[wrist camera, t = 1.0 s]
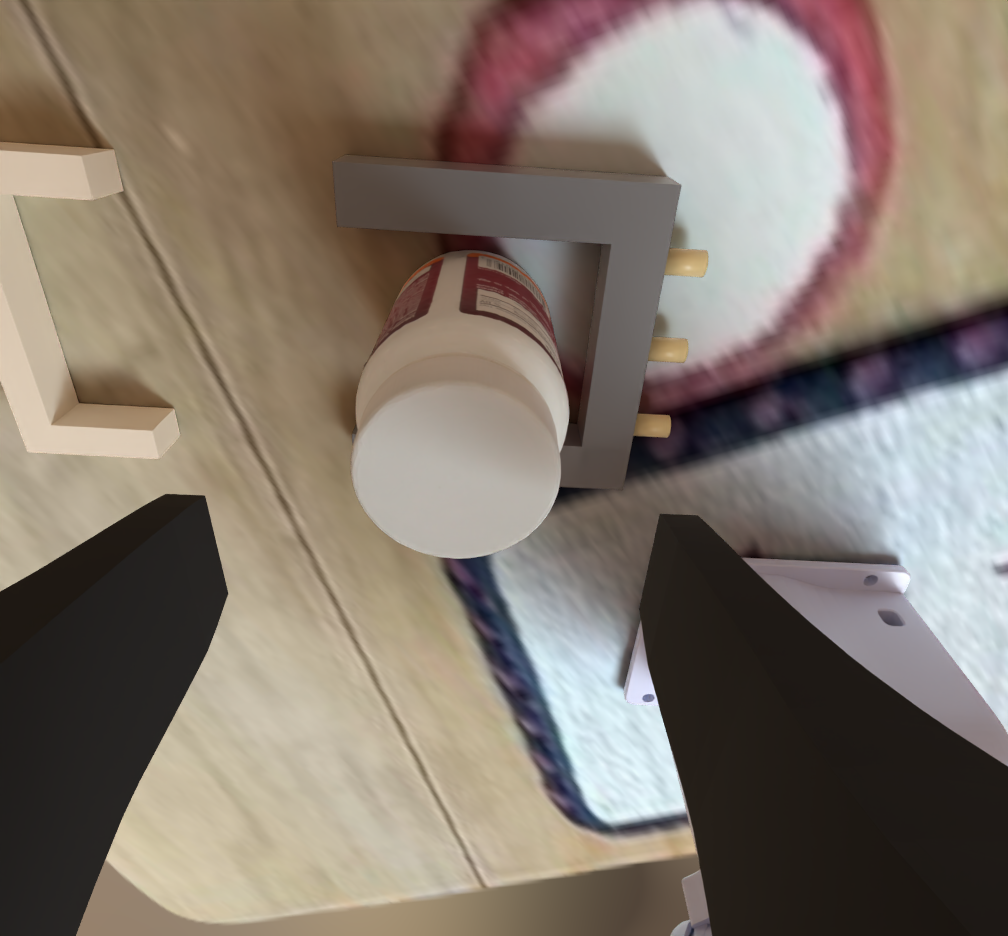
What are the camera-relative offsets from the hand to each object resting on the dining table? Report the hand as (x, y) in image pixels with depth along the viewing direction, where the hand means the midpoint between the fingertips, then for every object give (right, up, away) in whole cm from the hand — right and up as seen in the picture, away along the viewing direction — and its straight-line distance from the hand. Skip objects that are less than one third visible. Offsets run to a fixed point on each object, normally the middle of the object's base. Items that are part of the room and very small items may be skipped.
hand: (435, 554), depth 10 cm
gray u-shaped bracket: (+2, +5, +9) cm, 11 cm away
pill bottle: (0, +6, +9) cm, 11 cm away
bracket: (-11, +6, +8) cm, 15 cm away
